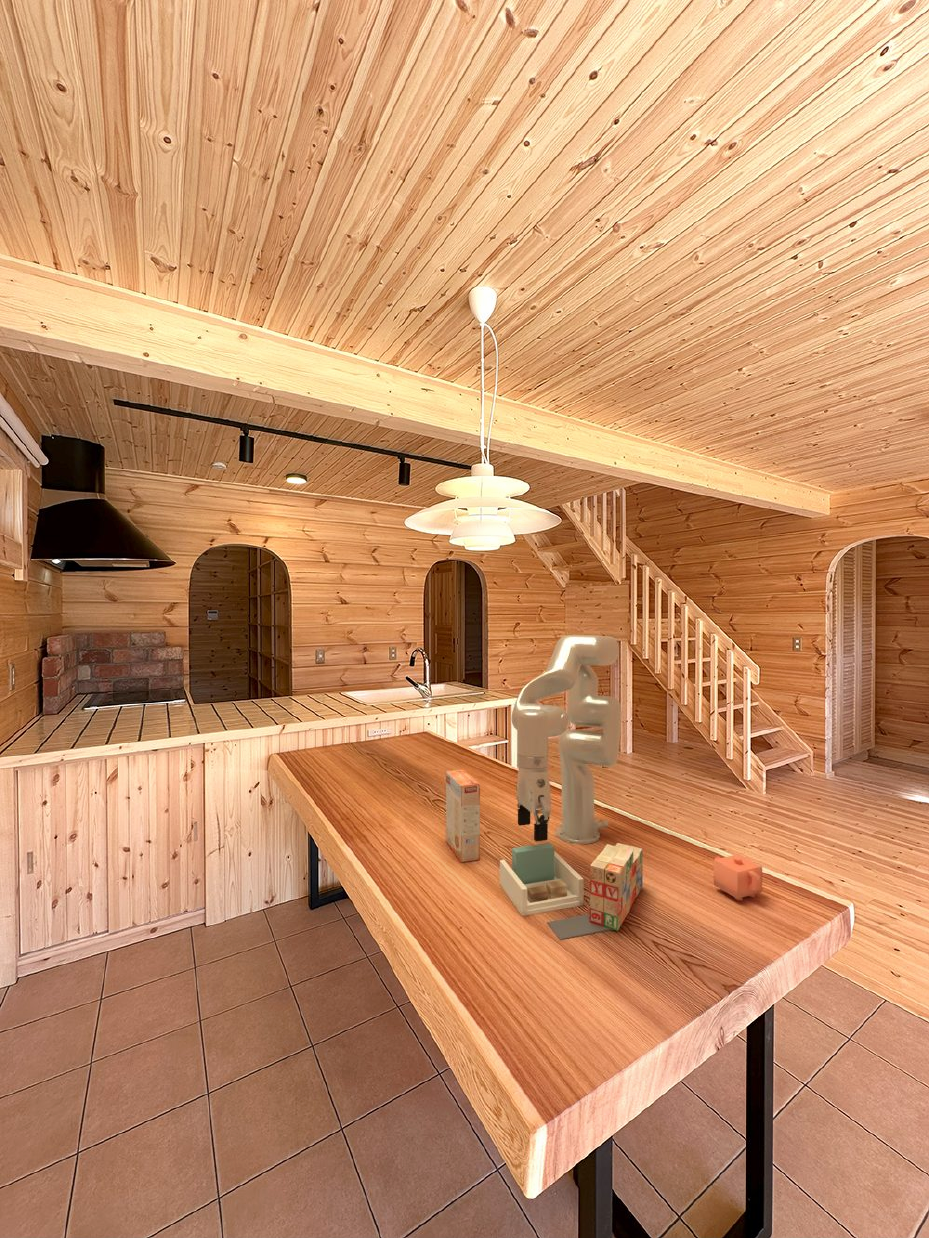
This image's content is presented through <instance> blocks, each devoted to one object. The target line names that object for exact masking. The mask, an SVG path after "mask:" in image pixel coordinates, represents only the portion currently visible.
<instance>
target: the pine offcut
mask: <svg viewBox="0 0 929 1238" xmlns="http://www.w3.org/2000/svg"><path fill="white" fill-rule="evenodd" d="M546 889H547V891H548V898H549V899H555V898H560V897H566V896H567V885H566V884H565V883H564V882H563V881H562V880H560V881H554V882H549V883H546Z"/></svg>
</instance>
